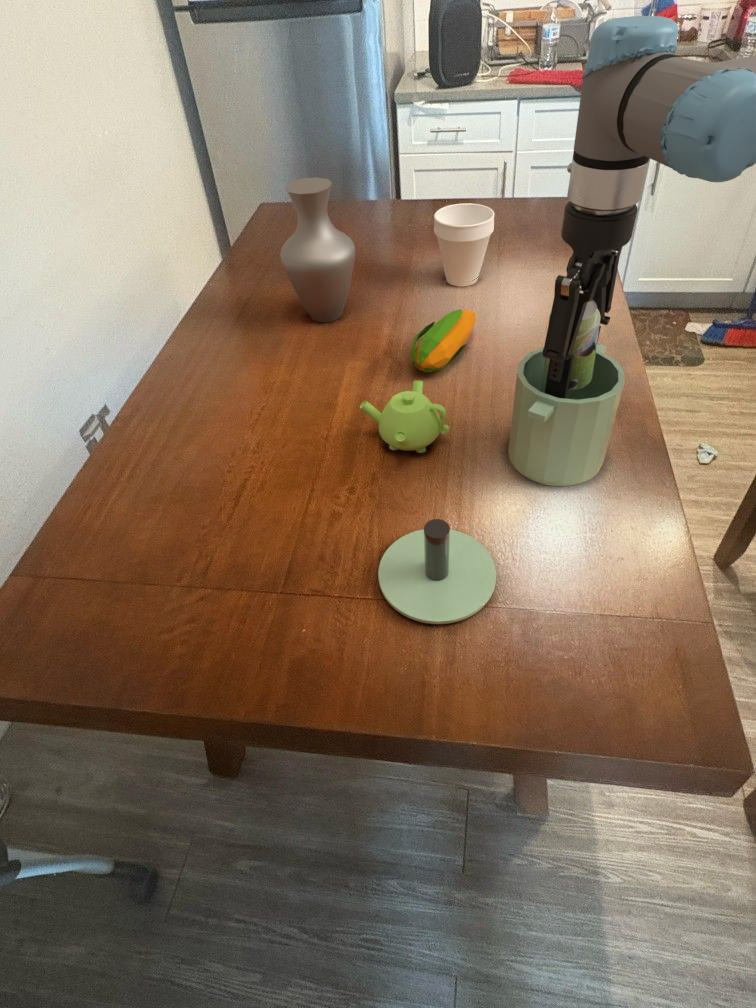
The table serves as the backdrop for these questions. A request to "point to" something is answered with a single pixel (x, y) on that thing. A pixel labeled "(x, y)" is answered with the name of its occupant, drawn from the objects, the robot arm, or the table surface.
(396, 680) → the table surface
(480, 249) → the cup
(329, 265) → the vase
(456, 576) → the lid
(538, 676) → the table surface
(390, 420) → the teapot
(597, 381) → the pot
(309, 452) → the table surface
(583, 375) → the beverage can
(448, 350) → the corn
